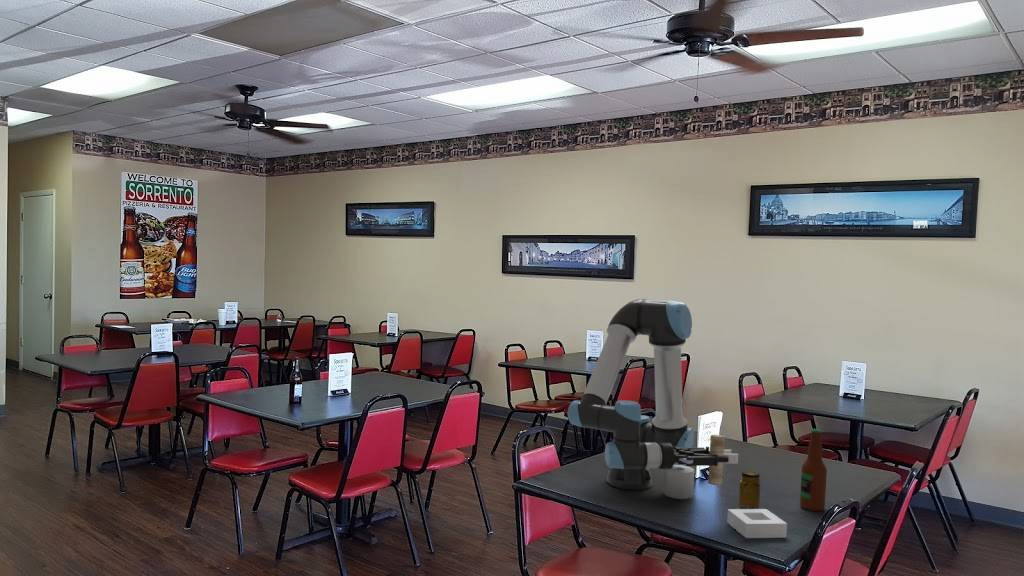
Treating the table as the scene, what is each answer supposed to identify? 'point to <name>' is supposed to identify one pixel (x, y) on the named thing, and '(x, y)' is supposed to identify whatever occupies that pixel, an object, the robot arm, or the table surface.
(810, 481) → the bottle
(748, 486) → the condiment
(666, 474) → the toilet tissue
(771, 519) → the socket
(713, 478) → the dowel
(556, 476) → the table surface
